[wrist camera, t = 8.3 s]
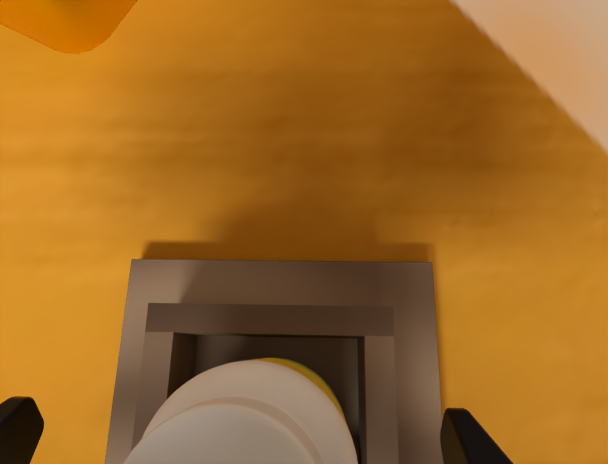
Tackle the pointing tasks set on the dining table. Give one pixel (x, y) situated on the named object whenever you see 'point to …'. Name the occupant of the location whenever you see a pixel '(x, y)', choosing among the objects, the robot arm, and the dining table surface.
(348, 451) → the supplement bottle
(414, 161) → the dining table surface
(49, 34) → the element tile
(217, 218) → the dining table surface
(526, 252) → the dining table surface
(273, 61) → the dining table surface
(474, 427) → the robot arm
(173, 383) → the socket holder
